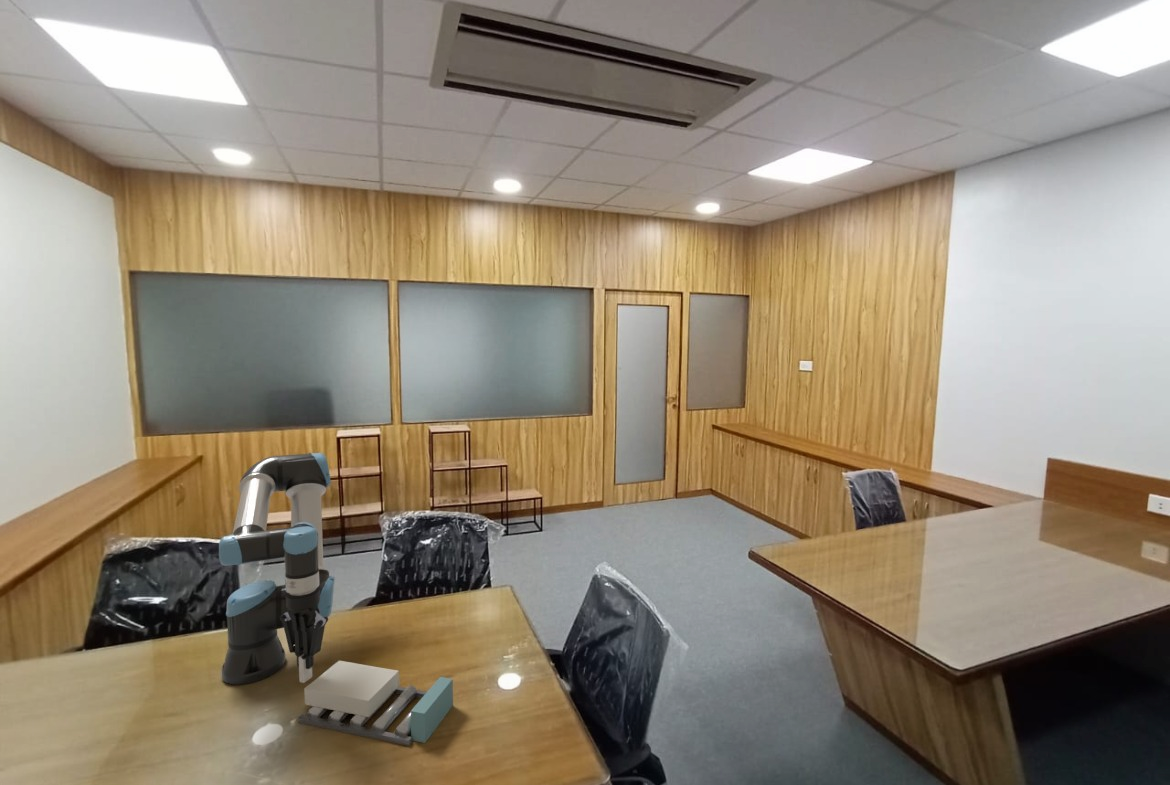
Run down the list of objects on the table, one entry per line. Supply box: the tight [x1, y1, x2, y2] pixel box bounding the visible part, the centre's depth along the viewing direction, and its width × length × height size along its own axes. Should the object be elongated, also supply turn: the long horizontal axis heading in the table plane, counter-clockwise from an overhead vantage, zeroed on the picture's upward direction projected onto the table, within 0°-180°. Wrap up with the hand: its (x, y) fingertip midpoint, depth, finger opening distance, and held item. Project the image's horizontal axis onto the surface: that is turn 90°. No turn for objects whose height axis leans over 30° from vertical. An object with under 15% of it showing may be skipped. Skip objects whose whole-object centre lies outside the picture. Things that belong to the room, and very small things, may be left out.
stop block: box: [410, 676, 454, 744], centre depth 124 cm, size 4×13×7 cm, turn 166°
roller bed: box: [297, 685, 428, 747], centre depth 128 cm, size 16×30×3 cm, turn 76°
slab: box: [303, 660, 400, 717], centre depth 129 cm, size 18×12×4 cm, turn 76°
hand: (306, 679), depth 132 cm, fingers closed
